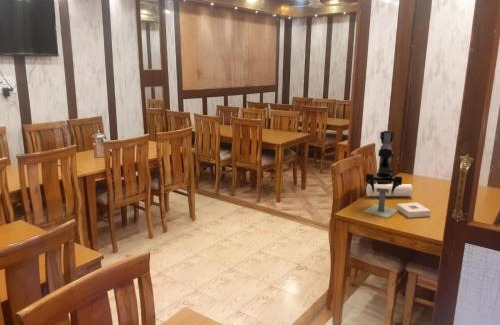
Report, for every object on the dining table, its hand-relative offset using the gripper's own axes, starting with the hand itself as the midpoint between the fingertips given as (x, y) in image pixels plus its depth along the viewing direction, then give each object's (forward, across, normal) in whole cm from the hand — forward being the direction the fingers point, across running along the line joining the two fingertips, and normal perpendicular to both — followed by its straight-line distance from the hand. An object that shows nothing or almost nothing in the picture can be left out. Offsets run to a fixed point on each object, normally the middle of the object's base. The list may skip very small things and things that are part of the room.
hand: (382, 193), depth 208 cm
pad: (+10, 0, +3) cm, 10 cm away
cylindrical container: (-15, +16, +22) cm, 31 cm away
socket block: (+7, +16, +6) cm, 18 cm away
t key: (+9, 0, +2) cm, 9 cm away
